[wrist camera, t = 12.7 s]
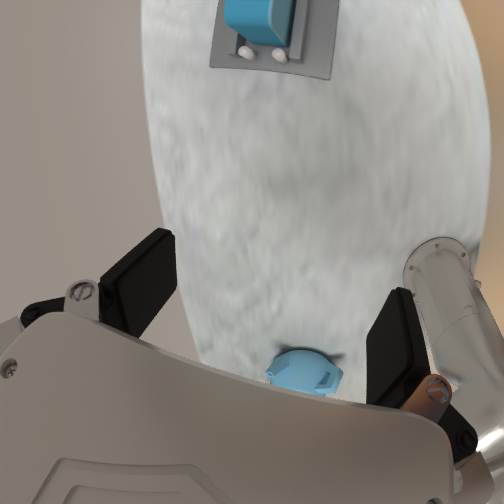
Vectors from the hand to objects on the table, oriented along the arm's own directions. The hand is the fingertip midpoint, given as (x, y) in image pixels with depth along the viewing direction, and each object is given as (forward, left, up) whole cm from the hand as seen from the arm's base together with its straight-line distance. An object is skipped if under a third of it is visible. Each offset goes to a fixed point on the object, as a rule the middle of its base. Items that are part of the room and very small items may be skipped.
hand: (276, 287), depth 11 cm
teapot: (-8, +43, -29) cm, 52 cm away
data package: (+8, -20, -28) cm, 35 cm away
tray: (+8, -21, -28) cm, 36 cm away
